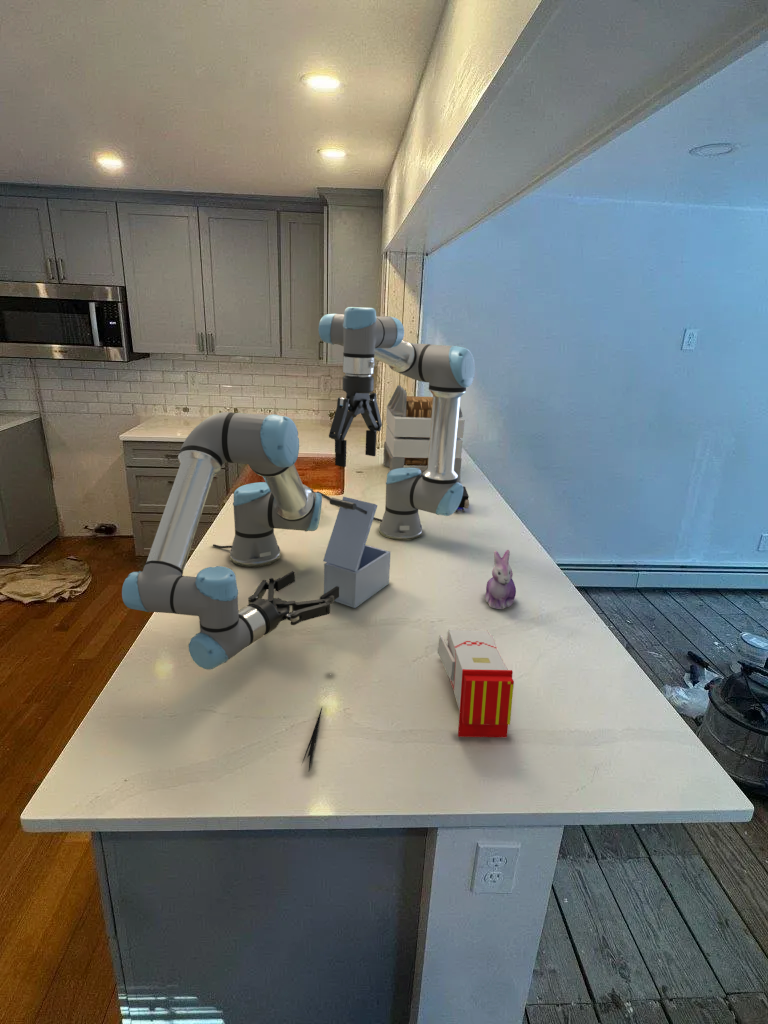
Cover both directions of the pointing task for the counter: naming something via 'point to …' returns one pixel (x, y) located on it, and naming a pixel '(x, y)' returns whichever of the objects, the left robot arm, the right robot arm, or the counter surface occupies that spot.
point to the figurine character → (464, 500)
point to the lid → (349, 532)
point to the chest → (359, 577)
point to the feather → (313, 740)
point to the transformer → (413, 432)
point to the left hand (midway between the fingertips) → (315, 583)
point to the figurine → (501, 583)
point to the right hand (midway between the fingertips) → (356, 460)
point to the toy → (478, 682)
